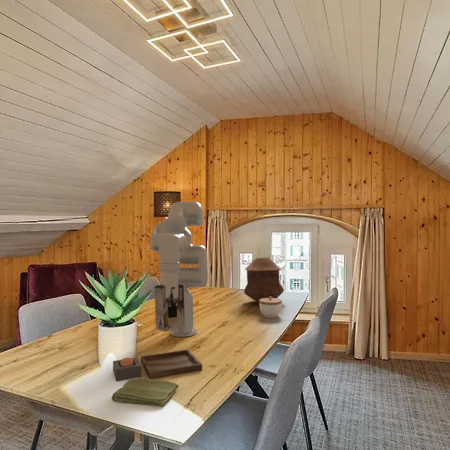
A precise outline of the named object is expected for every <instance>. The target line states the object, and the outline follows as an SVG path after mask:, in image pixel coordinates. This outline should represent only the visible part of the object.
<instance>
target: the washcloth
mask: <svg viewBox="0 0 450 450" xmlns="http://www.w3.org/2000/svg"><path fill="white" fill-rule="evenodd" d="M178 388H179V384H177V383H176V382H171V381H169V380H156V379H145V378H133V379H127V381H126V382H125V383H124V384H123V385H122V387H120V388H118V389H117V390H116V391H114V392H113V393H112V395H111V400H112V401H113V402H114V403H123V404H132V405H148V406H158V407H159V406H160V407H164V406H165V404H166V403H167V401H168V400H169V399H170V398H172V396H173V395H174V393H175V391H176V390H177V389H178Z"/></svg>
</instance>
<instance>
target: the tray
mask: <svg viewBox="0 0 450 450" xmlns="http://www.w3.org/2000/svg"><path fill="white" fill-rule="evenodd" d="M140 364H141V367H142V368H143V369H144V371H145V373H146V375H147V376H148V378H149V379H148V380H156V379H160V378H166V377H171V376H177V375H182V374H187V373H188V374H189V373H193V372H199V371H203V363H202V362H201V361H200V360H199V359H198V358H197V357H196V356H195V355H194V354H193V353H192V352H191V351H190V350H189V349H183V350H175V351H168V352H162V353H155V354H149V355H143V356H142V355H141V356H140Z"/></svg>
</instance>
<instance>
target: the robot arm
mask: <svg viewBox="0 0 450 450" xmlns="http://www.w3.org/2000/svg"><path fill="white" fill-rule="evenodd" d="M167 213H168V215H167V217H166V218H165V219H164V220H162V221H160V222H159V223H157V224H156V225H155V226H154V227H153V229H152V232H151V235H150V238H149V247H150V249H151V250H152V252H155V253H158V272H159V273H160V274H159V275H160V276H159V285H162V286H163V287H165V299H166V300H167V298H169V307H168V317H169V318H172V317H177V298H178V284H181V285H184V320H185V327H183V328H179V329H175V330H170V331H169V332H170V335H171V336H172V337H176V338H186V337H188V338H189V337H192V336H194V335H196V334H197V329H196V328H194V297H193V294H192V292H191V290H190V288H205V287H206V286H207V285H208V277H209V276H208V275H209V274H208V271H209V270H208V268H209V266H208V249H207V248H206V247H205V246H204V245H202V244H201V245H200V244H193V235H192V233H191V231H190V230H189V228H187V227H200V226H202V225H204V223H205V212H204V209H203V207H202V204H201V203H200V202H197V201H176V202H174V203H173V204H171V206H170V208H169V211H168V212H167ZM180 265H182V266H183V265H187V266H189V265H191V266H193V265H196V266H198V267H196V266H195V267H191V266H190V267H186V266H184V267H180ZM171 293H172V297H173V298H170V294H171ZM170 300H172V301H170Z"/></svg>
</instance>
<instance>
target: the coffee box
mask: <svg viewBox="0 0 450 450" xmlns="http://www.w3.org/2000/svg"><path fill="white" fill-rule="evenodd" d="M170 298H173V297H172V293H171V294H170ZM170 301H172V300H170ZM168 307H169V298H167V300H166V299H165V287H163V286H162V285H160V284H159V285H154V309H155V310H154V312H155V313H154V315H155V329H156V330H159V331H161V332H163V333H165V332H170V331H171V330H175V329H179V328H183V327H185V320H184V285H181V284H178V298H177V317H172V318H169V317H168Z"/></svg>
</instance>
